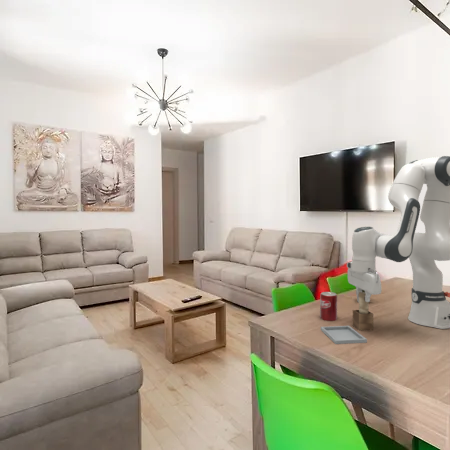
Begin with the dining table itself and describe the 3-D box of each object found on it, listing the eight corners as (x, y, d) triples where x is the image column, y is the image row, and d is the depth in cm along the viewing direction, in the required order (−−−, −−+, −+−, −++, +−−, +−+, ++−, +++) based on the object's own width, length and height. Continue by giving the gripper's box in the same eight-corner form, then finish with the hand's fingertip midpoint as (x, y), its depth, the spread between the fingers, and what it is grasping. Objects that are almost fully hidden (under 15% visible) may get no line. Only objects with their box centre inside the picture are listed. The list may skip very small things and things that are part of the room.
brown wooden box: (365, 326, 136) (365, 309, 135) (373, 332, 130) (373, 313, 129) (352, 327, 135) (352, 310, 135) (359, 332, 129) (359, 314, 129)
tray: (348, 330, 132) (348, 325, 132) (366, 344, 118) (367, 339, 118) (320, 331, 131) (320, 326, 131) (335, 346, 117) (335, 340, 117)
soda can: (326, 323, 140) (326, 296, 140) (317, 318, 147) (317, 292, 146) (340, 321, 142) (340, 295, 141) (330, 316, 149) (331, 291, 148)
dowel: (365, 320, 134) (365, 291, 134) (370, 323, 131) (370, 294, 130) (357, 320, 134) (357, 292, 133) (361, 323, 130) (361, 294, 130)
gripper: (386, 271, 121) (385, 306, 122) (358, 262, 142) (358, 292, 142) (370, 271, 121) (370, 307, 121) (344, 262, 141) (344, 293, 142)
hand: (363, 299), depth 132 cm, fingers closed on dowel, 4 cm apart
